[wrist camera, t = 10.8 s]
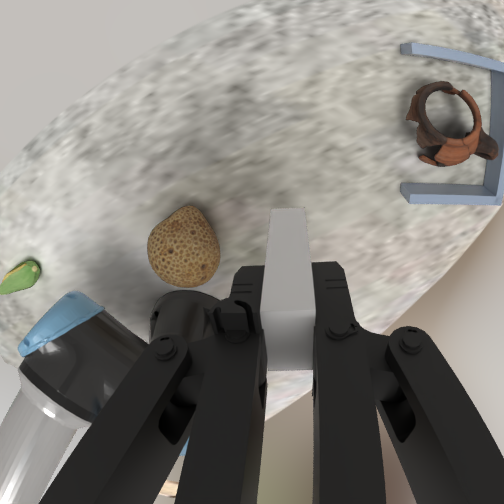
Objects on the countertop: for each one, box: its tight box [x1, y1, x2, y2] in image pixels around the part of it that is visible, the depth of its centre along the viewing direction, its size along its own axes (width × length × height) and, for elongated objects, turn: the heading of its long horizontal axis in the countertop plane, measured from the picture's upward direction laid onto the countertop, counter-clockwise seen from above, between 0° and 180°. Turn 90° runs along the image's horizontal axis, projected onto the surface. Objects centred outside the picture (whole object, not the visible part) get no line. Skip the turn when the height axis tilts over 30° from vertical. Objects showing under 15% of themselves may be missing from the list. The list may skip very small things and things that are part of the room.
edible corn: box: [0, 261, 40, 295], centre depth 50 cm, size 5×20×5 cm
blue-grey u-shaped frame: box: [400, 43, 504, 205], centre depth 27 cm, size 18×14×4 cm
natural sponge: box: [147, 206, 220, 288], centre depth 37 cm, size 9×9×10 cm
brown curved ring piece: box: [406, 81, 499, 167], centre depth 27 cm, size 12×10×8 cm
